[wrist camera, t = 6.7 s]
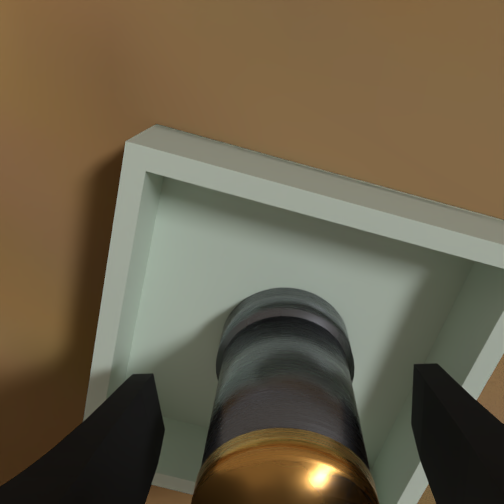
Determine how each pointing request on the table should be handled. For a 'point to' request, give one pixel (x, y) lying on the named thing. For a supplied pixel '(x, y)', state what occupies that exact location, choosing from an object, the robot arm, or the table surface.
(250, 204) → the bin
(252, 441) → the dark cylindrical piece
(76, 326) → the table surface
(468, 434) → the robot arm
